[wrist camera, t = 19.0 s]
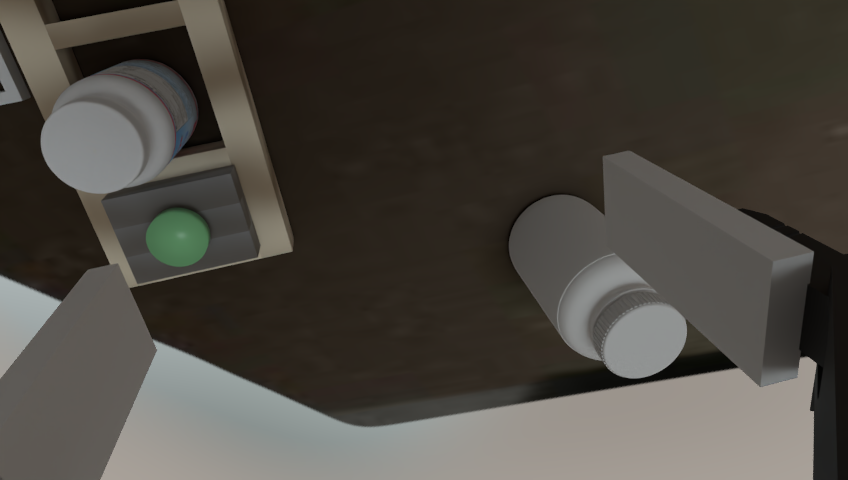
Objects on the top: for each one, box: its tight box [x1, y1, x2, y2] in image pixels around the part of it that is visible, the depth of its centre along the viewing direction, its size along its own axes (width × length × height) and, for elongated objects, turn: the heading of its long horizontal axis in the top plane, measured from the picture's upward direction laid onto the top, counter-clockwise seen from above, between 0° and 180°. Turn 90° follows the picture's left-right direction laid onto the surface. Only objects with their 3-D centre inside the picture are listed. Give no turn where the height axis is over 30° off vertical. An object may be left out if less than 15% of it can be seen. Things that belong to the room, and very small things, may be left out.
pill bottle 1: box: [41, 59, 198, 194], centre depth 33 cm, size 6×6×11 cm
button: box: [146, 208, 210, 267], centre depth 37 cm, size 4×4×3 cm
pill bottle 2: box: [509, 195, 687, 378], centre depth 41 cm, size 8×8×15 cm
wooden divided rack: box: [0, 0, 294, 288], centre depth 36 cm, size 26×12×4 cm, turn 10°
